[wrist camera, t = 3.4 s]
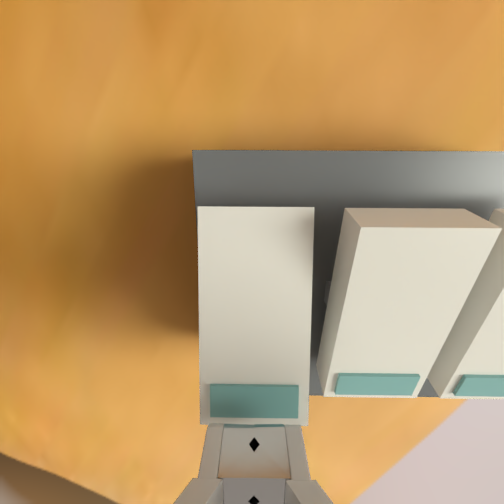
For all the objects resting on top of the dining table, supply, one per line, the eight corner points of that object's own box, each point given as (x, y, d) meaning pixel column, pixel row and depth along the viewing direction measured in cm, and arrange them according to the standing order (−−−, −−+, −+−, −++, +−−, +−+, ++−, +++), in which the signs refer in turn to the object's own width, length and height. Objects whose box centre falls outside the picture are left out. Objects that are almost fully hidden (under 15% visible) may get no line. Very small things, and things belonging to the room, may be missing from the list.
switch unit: (211, 155, 15) (185, 148, 10) (477, 156, 15) (613, 150, 9) (218, 339, 19) (203, 413, 13) (432, 341, 19) (510, 417, 13)
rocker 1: (205, 209, 11) (196, 206, 9) (305, 210, 11) (315, 206, 9) (207, 396, 12) (199, 427, 10) (300, 398, 11) (308, 429, 10)
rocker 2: (344, 207, 9) (362, 229, 8) (464, 208, 9) (506, 230, 7) (316, 364, 13) (324, 400, 11) (399, 366, 13) (418, 401, 11)
